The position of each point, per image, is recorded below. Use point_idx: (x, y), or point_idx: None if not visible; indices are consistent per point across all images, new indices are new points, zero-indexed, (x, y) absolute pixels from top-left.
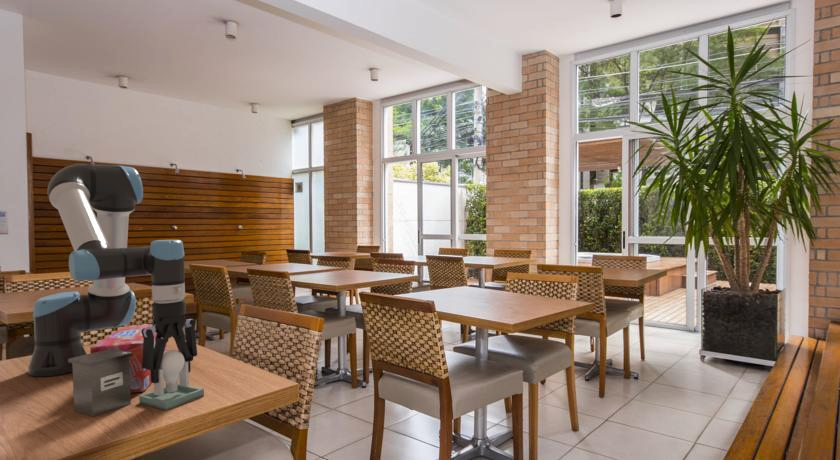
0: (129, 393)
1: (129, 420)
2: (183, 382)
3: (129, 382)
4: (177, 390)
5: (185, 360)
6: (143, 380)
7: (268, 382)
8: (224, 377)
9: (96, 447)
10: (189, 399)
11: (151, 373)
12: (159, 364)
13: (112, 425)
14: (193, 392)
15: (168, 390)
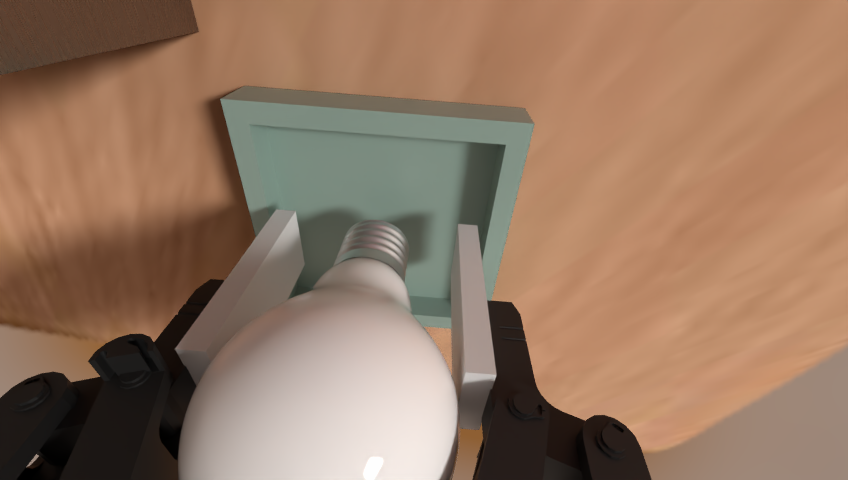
0: (141, 41)
1: (133, 245)
2: (453, 274)
3: (63, 59)
4: (481, 158)
5: (483, 419)
6: None
7: (687, 400)
8: (804, 206)
9: (4, 322)
10: None
11: (162, 345)
12: (176, 457)
13: (59, 227)
14: (427, 323)
15: (343, 260)
